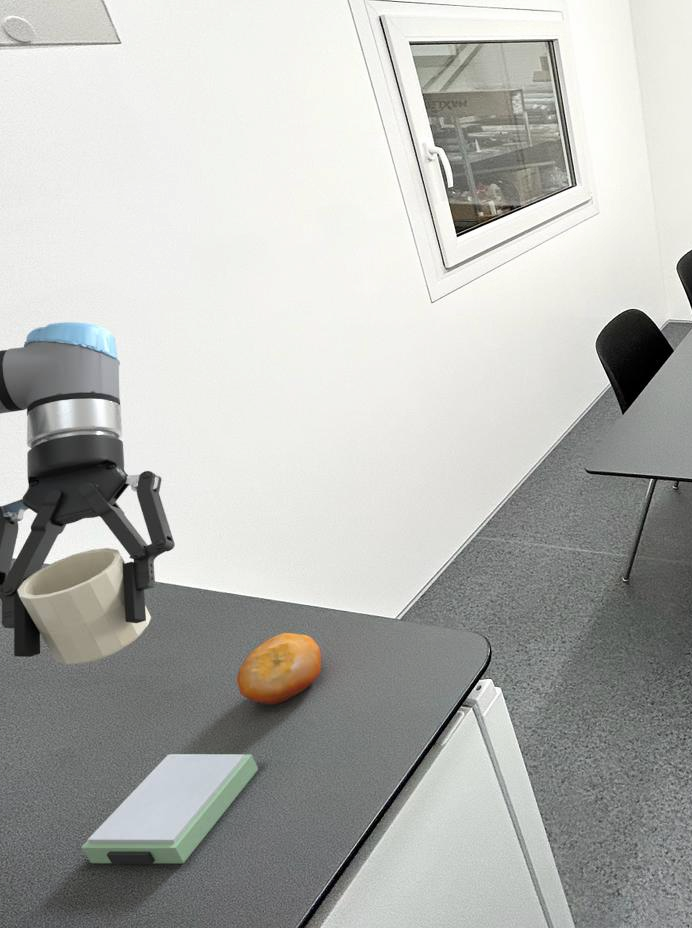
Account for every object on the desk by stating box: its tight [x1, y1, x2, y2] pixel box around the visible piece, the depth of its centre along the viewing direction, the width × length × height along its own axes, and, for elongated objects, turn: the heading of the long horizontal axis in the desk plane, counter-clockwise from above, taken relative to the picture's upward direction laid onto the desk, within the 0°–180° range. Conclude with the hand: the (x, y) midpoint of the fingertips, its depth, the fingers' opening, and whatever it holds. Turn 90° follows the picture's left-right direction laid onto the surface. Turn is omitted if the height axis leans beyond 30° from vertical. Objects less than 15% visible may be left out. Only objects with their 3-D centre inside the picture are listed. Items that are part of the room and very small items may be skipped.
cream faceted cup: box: [17, 547, 152, 666], centre depth 70 cm, size 8×8×10 cm
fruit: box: [236, 632, 322, 706], centre depth 79 cm, size 8×8×8 cm
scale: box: [81, 753, 259, 865], centre depth 65 cm, size 9×10×3 cm
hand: (83, 637), depth 68 cm, fingers closed on cream faceted cup, 8 cm apart
